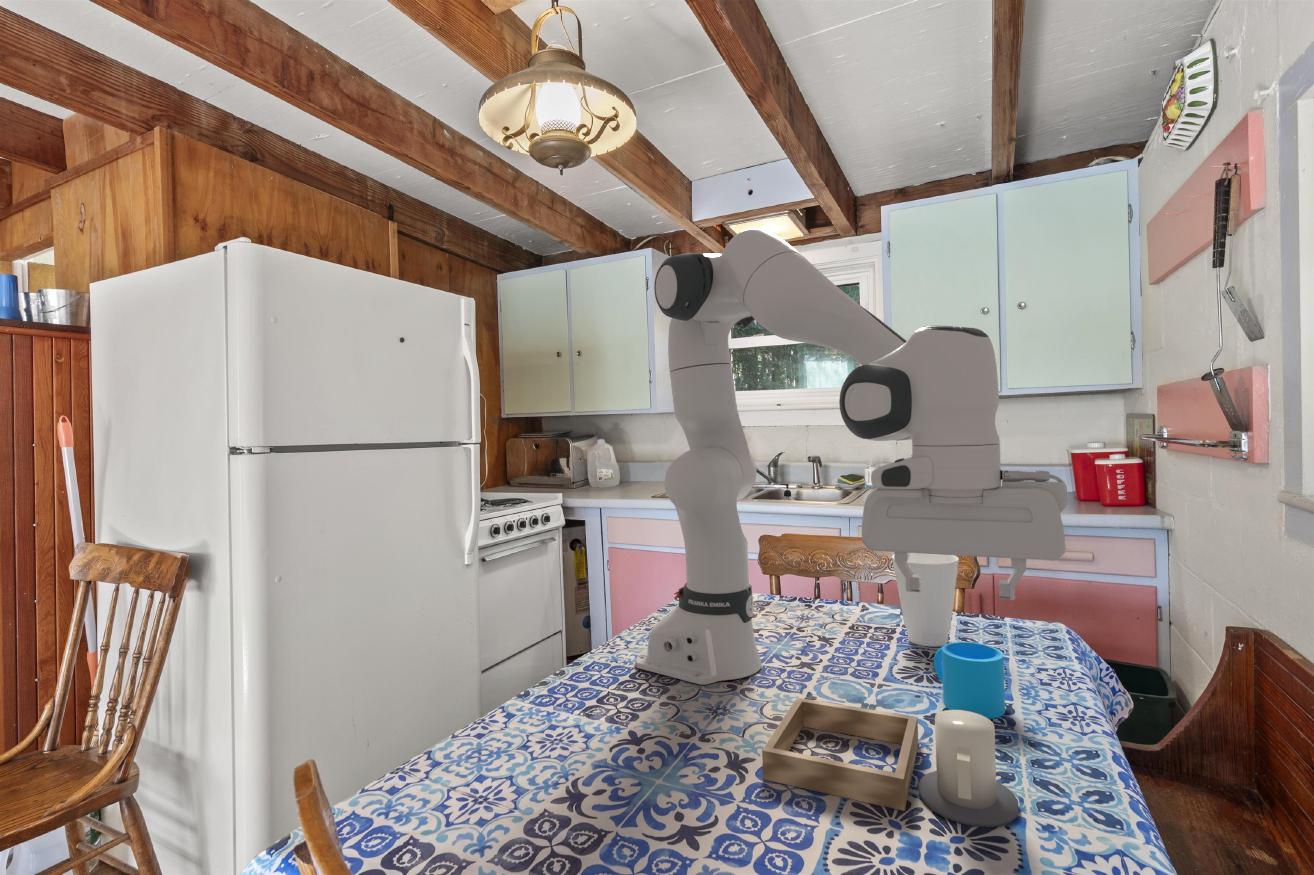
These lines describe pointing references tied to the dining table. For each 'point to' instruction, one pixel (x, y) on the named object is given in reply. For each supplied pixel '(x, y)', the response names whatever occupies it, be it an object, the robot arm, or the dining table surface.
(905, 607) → the cup
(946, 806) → the grey oval disc
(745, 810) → the dining table surface
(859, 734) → the holder
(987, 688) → the mug
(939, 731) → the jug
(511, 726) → the dining table surface
